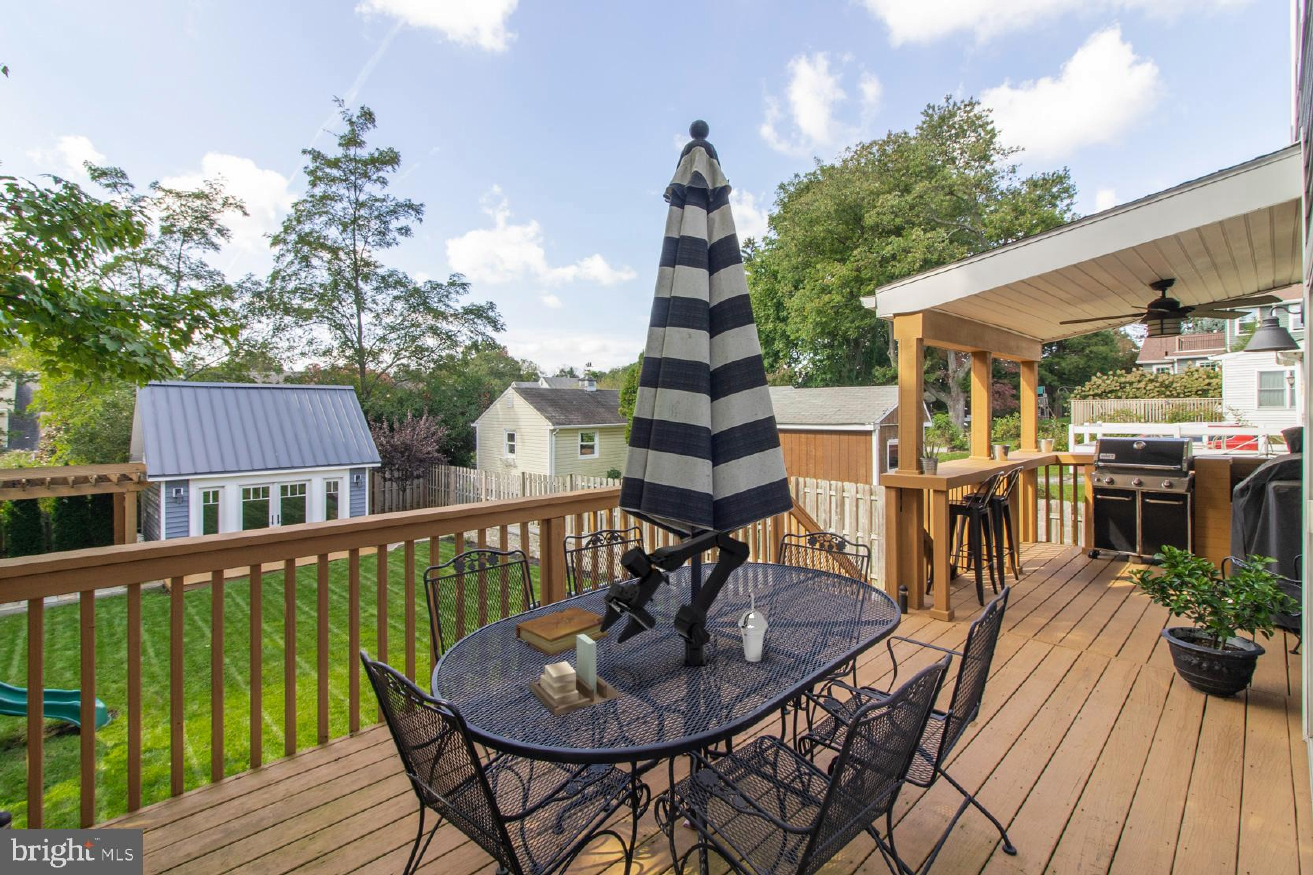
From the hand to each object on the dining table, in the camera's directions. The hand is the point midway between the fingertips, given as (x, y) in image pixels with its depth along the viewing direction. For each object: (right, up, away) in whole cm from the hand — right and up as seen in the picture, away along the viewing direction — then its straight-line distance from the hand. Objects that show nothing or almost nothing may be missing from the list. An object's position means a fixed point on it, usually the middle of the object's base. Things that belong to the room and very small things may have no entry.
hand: (609, 637), depth 151 cm
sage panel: (-6, -12, -3) cm, 14 cm away
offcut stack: (-12, -12, -7) cm, 19 cm away
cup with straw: (+40, -12, +17) cm, 45 cm away
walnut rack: (-8, -13, -5) cm, 16 cm away
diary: (-17, -12, +34) cm, 41 cm away
